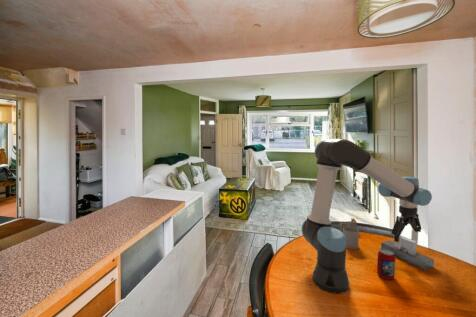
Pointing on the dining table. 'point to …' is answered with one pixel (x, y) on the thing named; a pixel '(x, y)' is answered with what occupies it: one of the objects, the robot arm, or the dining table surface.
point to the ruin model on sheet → (347, 224)
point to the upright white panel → (408, 245)
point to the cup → (351, 237)
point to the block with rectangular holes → (409, 256)
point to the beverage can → (386, 264)
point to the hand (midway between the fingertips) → (406, 244)
